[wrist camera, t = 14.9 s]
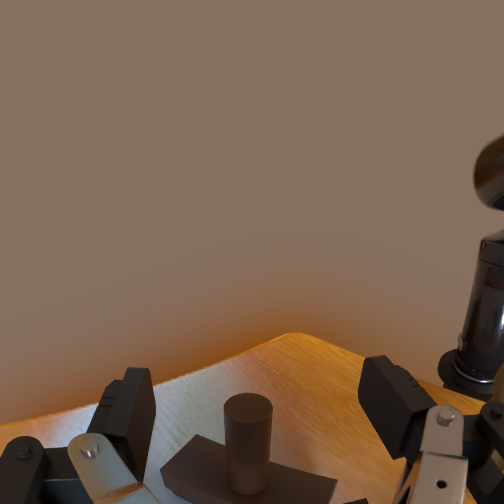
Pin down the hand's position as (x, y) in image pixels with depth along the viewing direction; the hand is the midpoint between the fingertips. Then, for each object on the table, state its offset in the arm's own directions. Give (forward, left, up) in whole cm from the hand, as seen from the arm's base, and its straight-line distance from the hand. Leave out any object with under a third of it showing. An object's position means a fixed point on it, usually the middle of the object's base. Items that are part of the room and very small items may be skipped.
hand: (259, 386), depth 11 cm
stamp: (-2, -5, -16) cm, 17 cm away
